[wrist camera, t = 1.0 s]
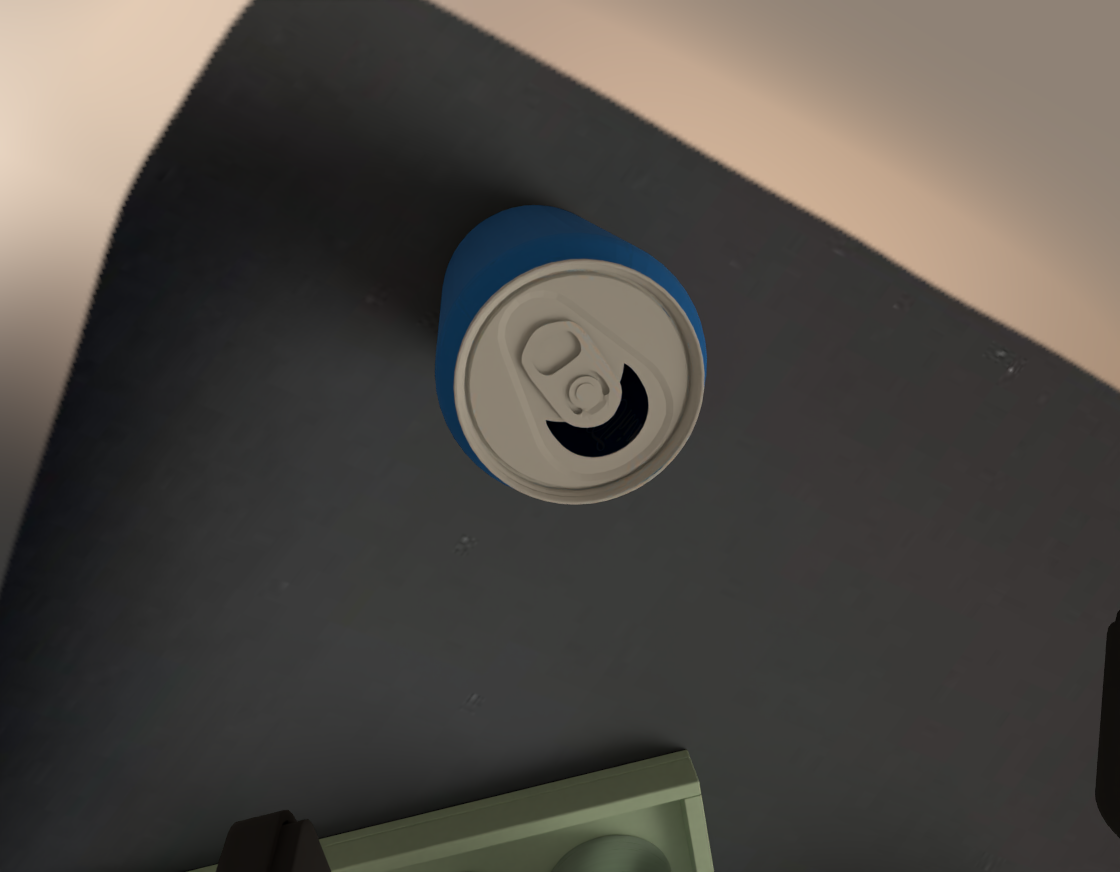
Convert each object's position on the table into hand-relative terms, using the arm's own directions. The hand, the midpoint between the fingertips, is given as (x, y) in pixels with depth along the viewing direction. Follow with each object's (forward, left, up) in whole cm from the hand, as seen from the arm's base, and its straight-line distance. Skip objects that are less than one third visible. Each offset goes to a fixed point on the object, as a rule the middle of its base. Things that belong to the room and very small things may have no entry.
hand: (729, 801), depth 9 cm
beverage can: (-2, 0, -22) cm, 22 cm away
